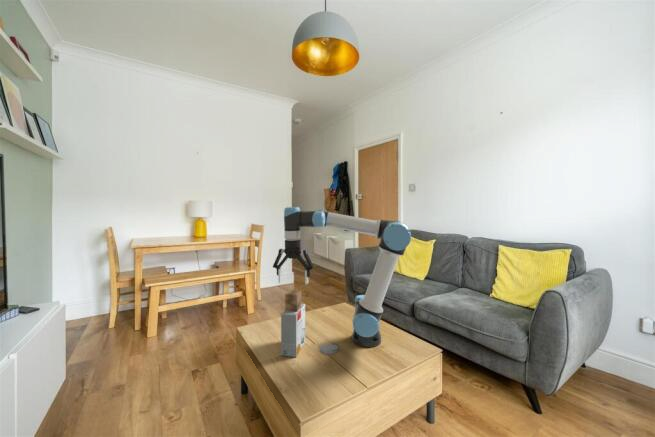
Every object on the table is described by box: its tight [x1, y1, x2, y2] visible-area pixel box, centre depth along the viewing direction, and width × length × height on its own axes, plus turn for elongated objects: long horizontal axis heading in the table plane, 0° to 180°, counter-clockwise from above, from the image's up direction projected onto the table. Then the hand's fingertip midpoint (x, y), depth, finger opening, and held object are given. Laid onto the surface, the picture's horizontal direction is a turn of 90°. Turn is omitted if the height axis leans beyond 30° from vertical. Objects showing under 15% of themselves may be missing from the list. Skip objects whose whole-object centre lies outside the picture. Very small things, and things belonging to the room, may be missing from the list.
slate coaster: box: [319, 342, 339, 355], centre depth 131 cm, size 9×9×1 cm
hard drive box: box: [280, 303, 306, 358], centre depth 131 cm, size 16×8×20 cm, turn 168°
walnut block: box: [284, 289, 302, 312], centre depth 130 cm, size 6×6×8 cm
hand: (293, 282), depth 130 cm, fingers open, 13 cm apart
